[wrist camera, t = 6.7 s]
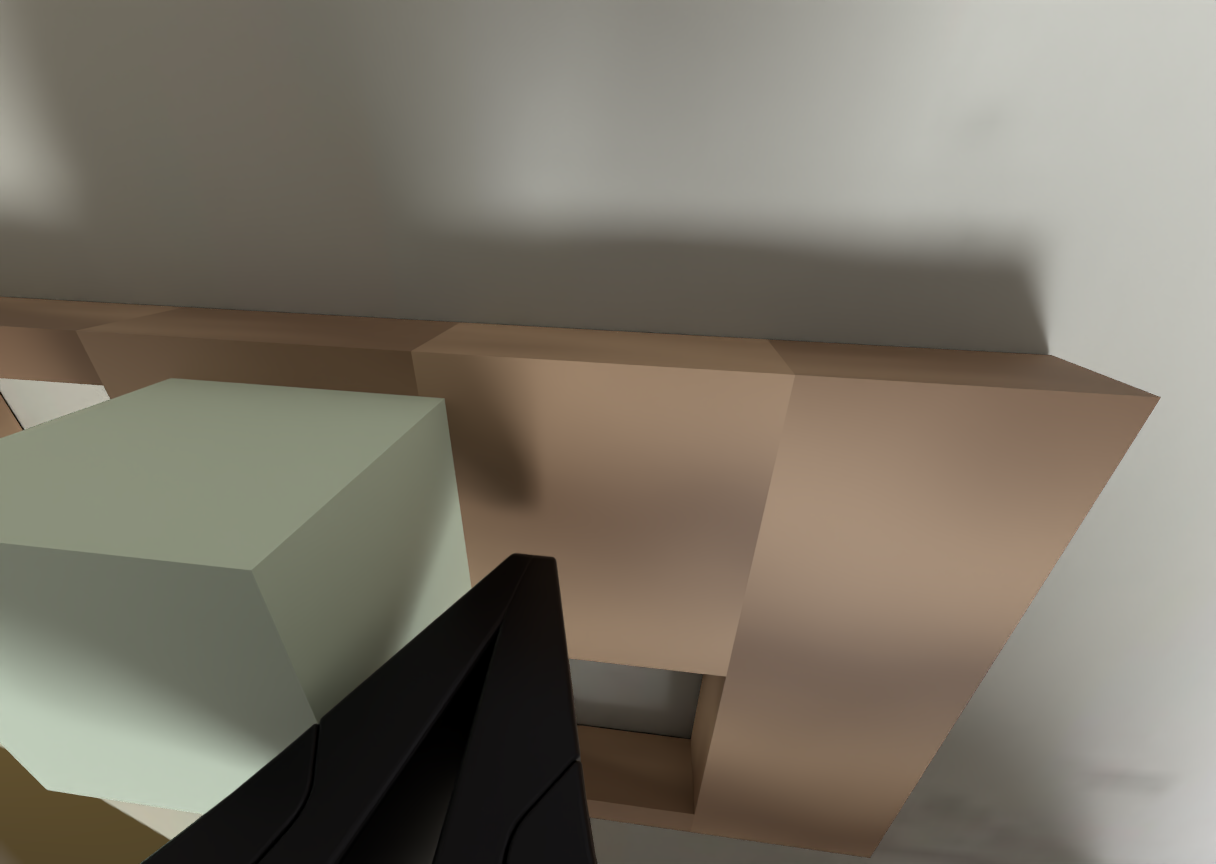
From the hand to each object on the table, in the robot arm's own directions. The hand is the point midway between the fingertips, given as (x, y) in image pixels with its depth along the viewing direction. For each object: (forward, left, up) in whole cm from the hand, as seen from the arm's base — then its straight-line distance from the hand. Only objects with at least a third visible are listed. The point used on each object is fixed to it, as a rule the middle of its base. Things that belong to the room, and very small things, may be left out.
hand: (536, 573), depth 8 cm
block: (0, +4, -1) cm, 4 cm away
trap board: (-4, +7, -3) cm, 9 cm away
